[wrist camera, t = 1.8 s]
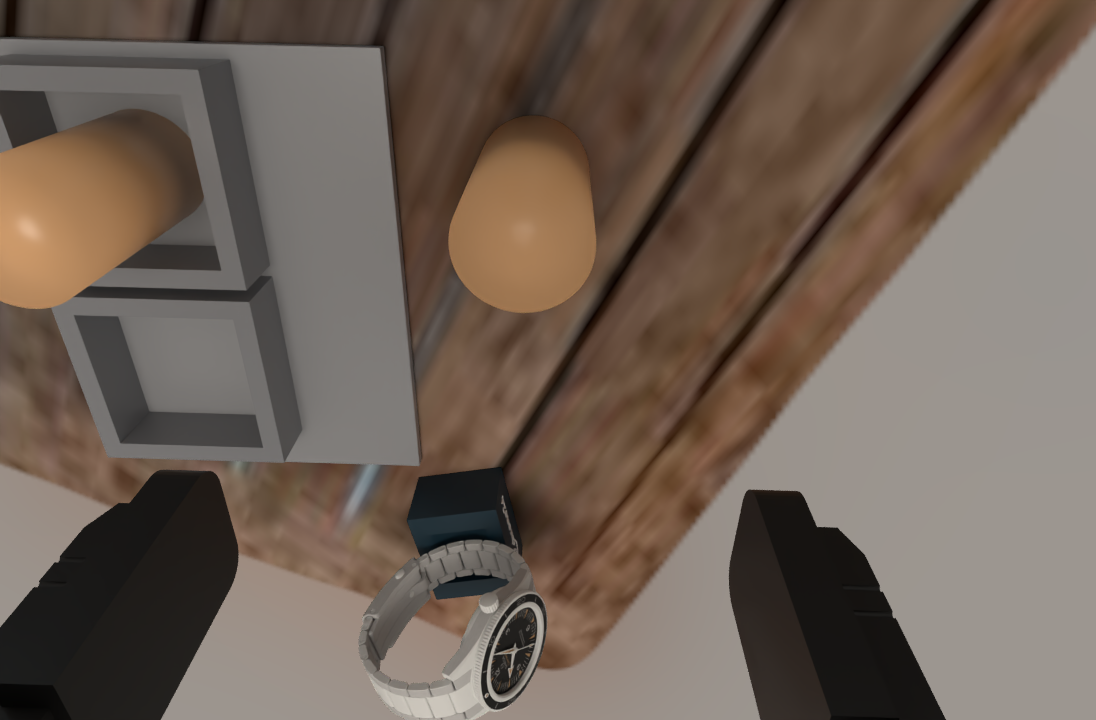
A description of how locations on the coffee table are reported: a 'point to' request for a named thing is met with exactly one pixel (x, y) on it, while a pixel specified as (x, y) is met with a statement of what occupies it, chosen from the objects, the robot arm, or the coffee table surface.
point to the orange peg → (526, 218)
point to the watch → (458, 571)
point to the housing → (213, 243)
